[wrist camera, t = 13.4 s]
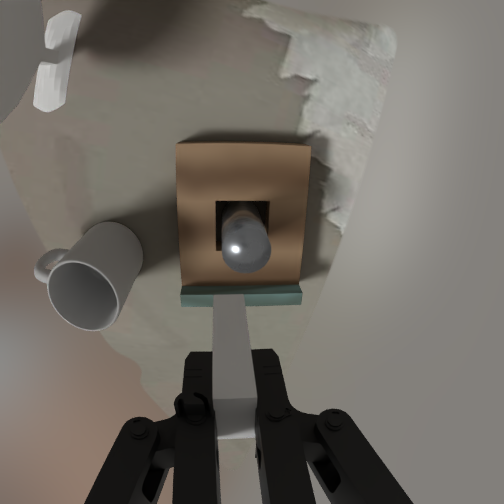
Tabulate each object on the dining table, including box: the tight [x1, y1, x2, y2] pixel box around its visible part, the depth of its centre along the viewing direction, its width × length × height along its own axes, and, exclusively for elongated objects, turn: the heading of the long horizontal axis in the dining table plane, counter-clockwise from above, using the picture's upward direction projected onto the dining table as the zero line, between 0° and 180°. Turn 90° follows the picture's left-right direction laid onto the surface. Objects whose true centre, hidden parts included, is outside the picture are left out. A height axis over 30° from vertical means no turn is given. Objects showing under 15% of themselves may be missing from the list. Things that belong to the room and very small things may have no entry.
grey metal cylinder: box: [222, 201, 271, 273], centre depth 33 cm, size 4×4×10 cm
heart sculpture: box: [0, 0, 82, 123], centre depth 19 cm, size 16×5×18 cm, turn 170°
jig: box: [176, 141, 311, 307], centre depth 35 cm, size 18×14×5 cm
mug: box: [34, 222, 143, 331], centre depth 32 cm, size 12×8×11 cm
